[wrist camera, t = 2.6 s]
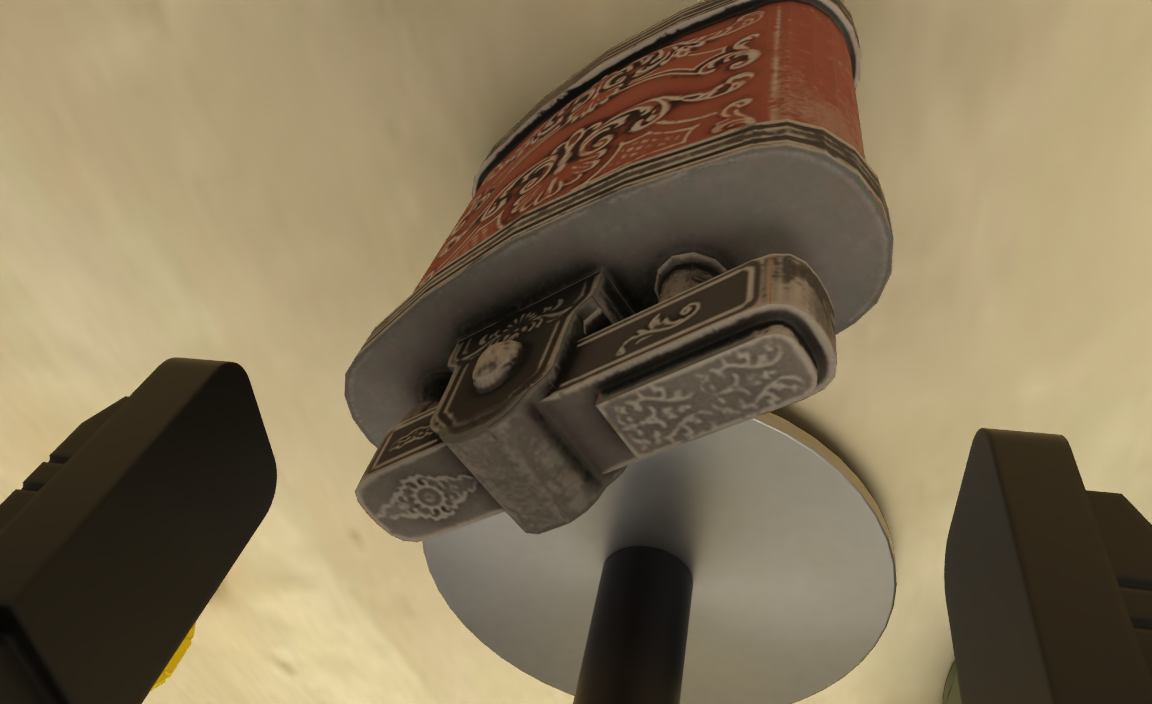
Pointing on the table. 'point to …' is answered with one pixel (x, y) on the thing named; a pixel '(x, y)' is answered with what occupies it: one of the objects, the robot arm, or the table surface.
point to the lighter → (631, 272)
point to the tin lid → (687, 577)
